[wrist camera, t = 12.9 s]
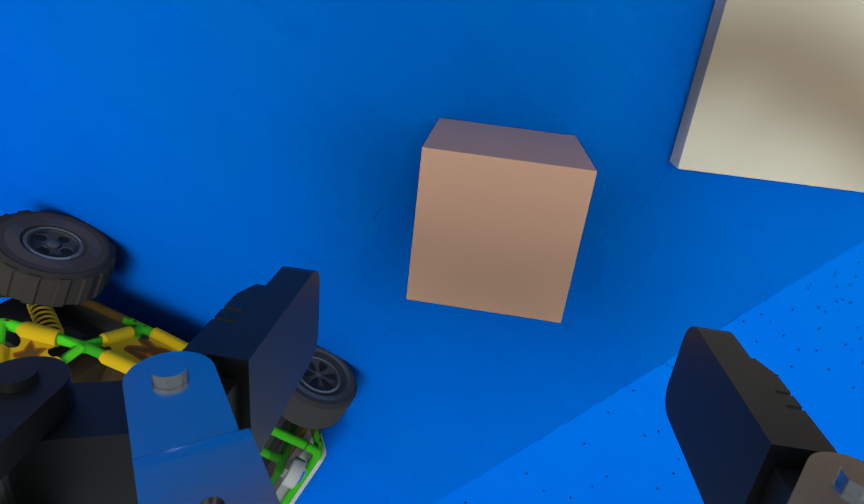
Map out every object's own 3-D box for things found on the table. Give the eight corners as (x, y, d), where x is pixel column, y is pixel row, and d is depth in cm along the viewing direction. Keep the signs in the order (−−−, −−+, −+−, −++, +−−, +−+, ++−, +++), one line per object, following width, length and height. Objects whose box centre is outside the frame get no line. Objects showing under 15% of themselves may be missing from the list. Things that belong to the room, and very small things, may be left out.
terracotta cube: (439, 117, 20) (422, 147, 16) (575, 135, 20) (596, 171, 16) (425, 240, 22) (406, 299, 18) (548, 259, 22) (560, 322, 18)
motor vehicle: (279, 503, 30) (186, 710, 21) (-33, 343, 28) (-282, 498, 19) (369, 370, 26) (300, 558, 17) (9, 170, 24) (-286, 265, 15)
